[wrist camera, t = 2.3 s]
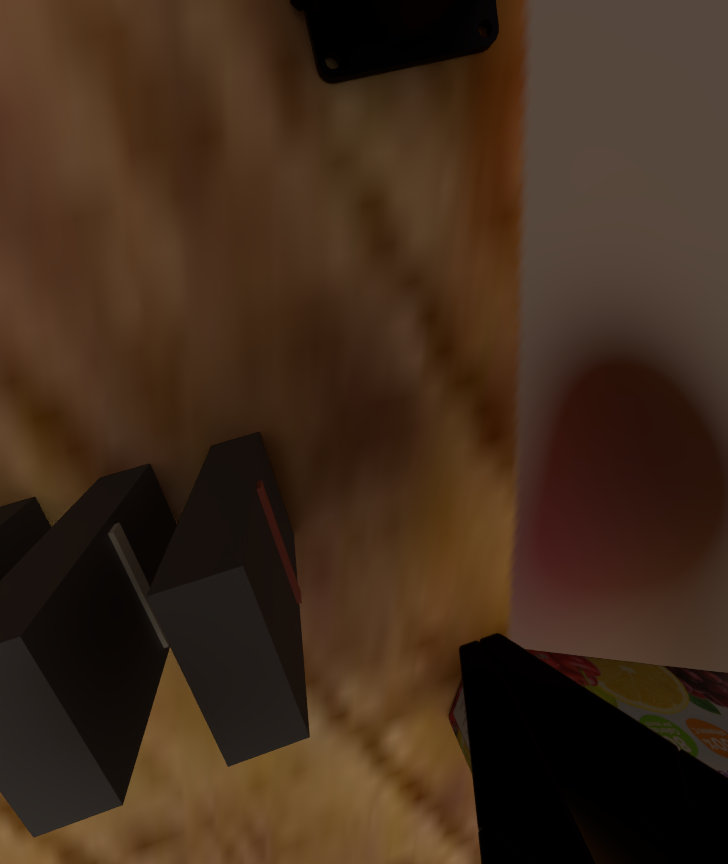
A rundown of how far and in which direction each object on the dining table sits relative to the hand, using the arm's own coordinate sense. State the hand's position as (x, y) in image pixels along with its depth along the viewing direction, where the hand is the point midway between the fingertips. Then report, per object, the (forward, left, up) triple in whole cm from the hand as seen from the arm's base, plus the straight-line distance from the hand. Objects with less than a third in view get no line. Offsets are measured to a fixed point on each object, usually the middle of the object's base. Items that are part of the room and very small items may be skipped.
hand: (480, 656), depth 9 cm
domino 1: (+10, 0, -12) cm, 15 cm away
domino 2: (+5, 0, -12) cm, 13 cm away
